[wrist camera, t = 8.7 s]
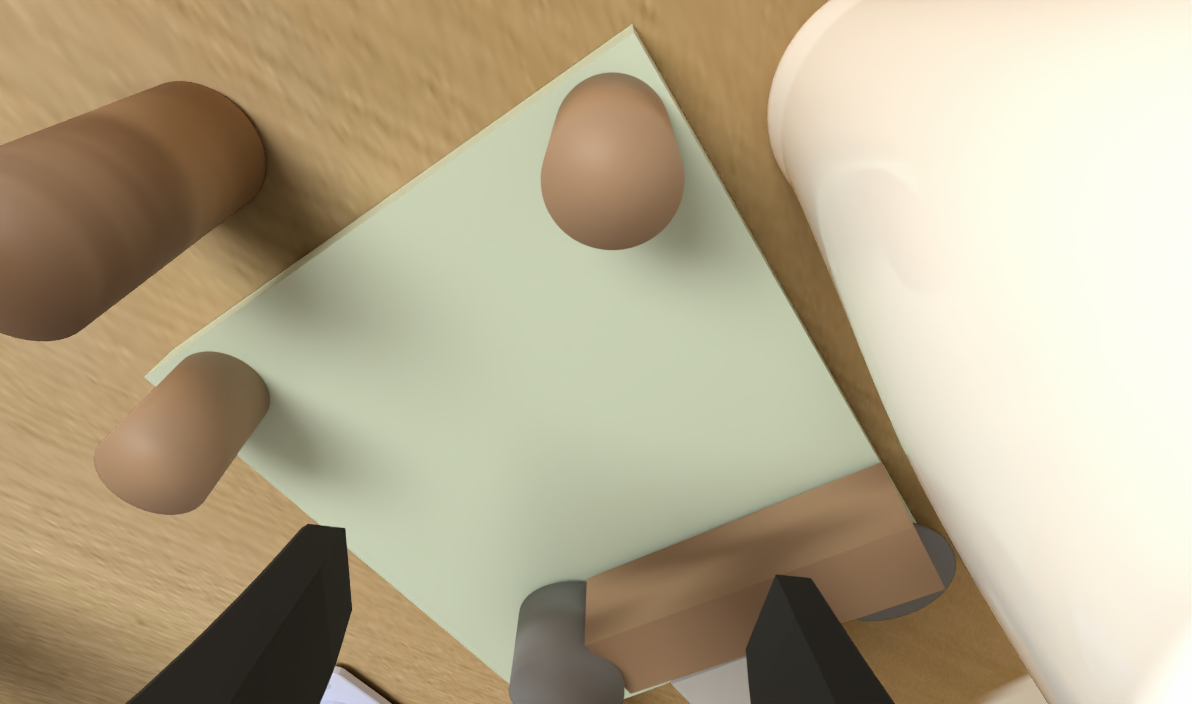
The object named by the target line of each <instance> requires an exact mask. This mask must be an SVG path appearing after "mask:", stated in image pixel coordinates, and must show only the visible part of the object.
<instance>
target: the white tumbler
mask: <svg viewBox="0 0 1192 704" xmlns="http://www.w3.org/2000/svg"><path fill="white" fill-rule="evenodd" d="M767 123H768V134H769V140H770V144H771V148H772V151H773V154H774V157H775V160H776V162H777V164H778V166H779V168H780V170H781V172H782V174H783V175H784V177H785V178H786V180H787V181H788V183H789V184H790V186H791V187H792V189H793V190H794V192H795V194H796V196H797V198H798V201H799V203H800V205H801V208H802V210H803V212H804V215H805V217H806V219H807V222H808V224H809V226H810V229H811V231H812V234H813V236H814V238H815V241H816V243H817V245H818V248H819V250H820V253H821V255H822V258H823V260H824V262H825V265H826V267H827V270H828V272H829V275H830V277H831V279H832V282H833V284H834V287H835V289H836V292H837V294H838V297H839V299H840V302H841V304H842V307H843V309H844V312H845V314H846V317H847V319H848V322H849V324H850V327H851V329H852V331H853V334H854V336H855V339H856V341H857V344H858V346H859V349H860V351H861V354H862V356H863V359H864V361H865V364H866V366H867V369H868V371H869V373H870V376H871V378H872V380H873V383H874V385H875V388H876V390H877V392H878V395H879V397H880V399H881V402H882V404H883V406H884V409H885V411H886V413H887V416H888V418H889V420H890V422H891V424H892V426H893V429H894V431H895V433H896V435H897V437H898V439H899V442H900V444H901V446H902V448H903V450H904V452H905V454H906V456H907V458H908V460H909V462H910V464H911V466H912V468H913V470H914V472H915V474H916V476H917V478H918V480H919V482H920V484H921V486H922V488H923V490H924V492H925V493H926V495H927V497H928V499H929V501H930V503H931V505H932V507H933V509H934V511H935V513H936V514H937V516H938V518H939V520H940V522H941V524H942V526H943V527H944V529H945V531H946V533H947V535H948V537H949V539H950V540H951V542H952V544H953V546H954V548H955V549H956V551H957V553H958V555H959V556H960V558H961V560H962V562H963V563H964V565H965V567H966V569H967V571H968V572H969V574H970V576H971V578H972V579H973V581H974V583H975V585H976V586H977V588H978V590H979V591H980V593H981V595H982V597H983V598H984V600H985V602H986V603H987V605H988V607H989V608H990V610H991V612H992V613H993V615H994V617H995V618H996V620H997V622H998V624H999V625H1000V627H1001V629H1002V630H1003V632H1004V634H1005V635H1006V637H1007V638H1008V640H1009V642H1010V643H1011V645H1012V647H1013V648H1014V650H1015V651H1016V653H1017V655H1018V656H1019V658H1020V660H1021V661H1022V663H1023V664H1024V666H1025V668H1026V669H1027V671H1028V673H1029V674H1030V676H1031V677H1032V679H1033V681H1034V682H1035V684H1036V685H1037V687H1038V688H1039V690H1040V691H1041V693H1042V695H1043V696H1044V698H1045V700H1046V701H1047V703H1048V704H1192V0H829V1H828V2H827V3H825V4H824V5H823V6H822V7H821V8H819V9H818V10H817V11H816V12H815V13H814V14H813V15H812V16H811V17H810V18H809V19H808V20H807V21H806V22H805V23H804V25H803V26H802V27H801V28H800V30H799V31H798V32H797V33H796V35H795V36H794V38H793V39H792V41H791V42H790V44H789V45H788V47H787V49H786V51H785V52H784V54H783V56H782V58H781V60H780V63H779V65H778V67H777V69H776V72H775V75H774V78H773V81H772V85H771V89H770V94H769V100H768V111H767Z"/></svg>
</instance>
